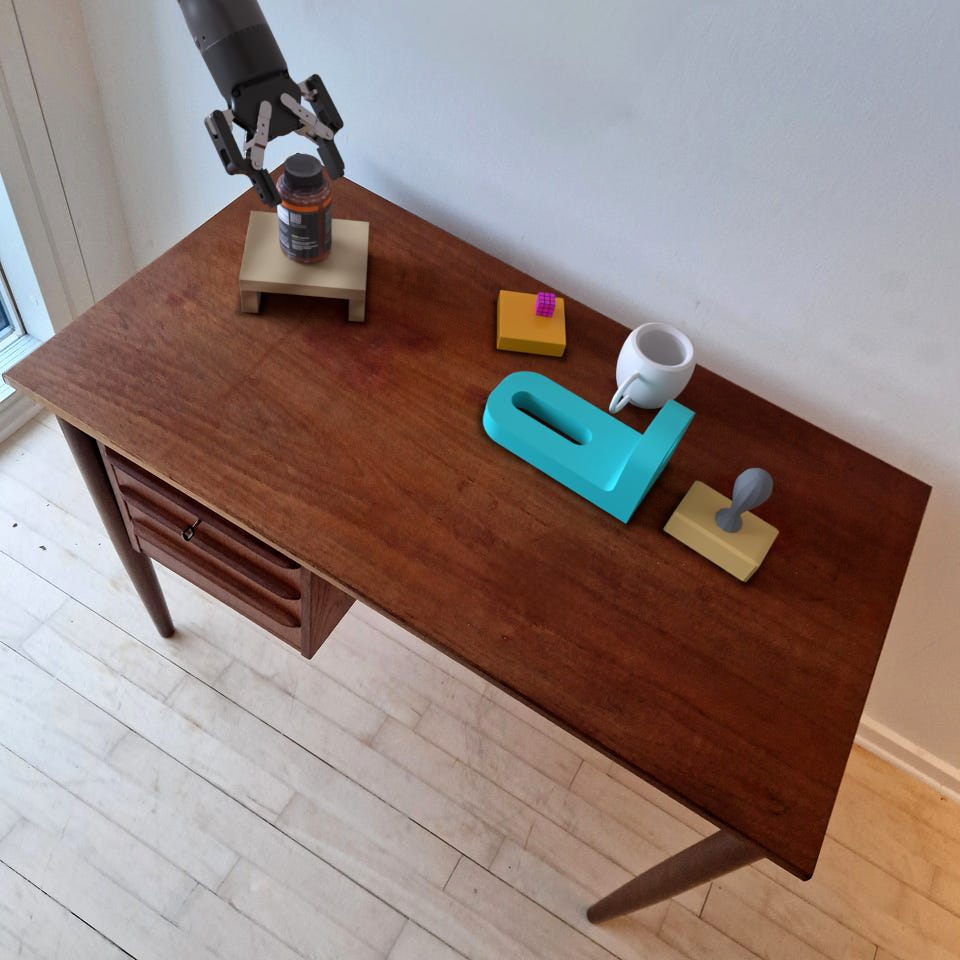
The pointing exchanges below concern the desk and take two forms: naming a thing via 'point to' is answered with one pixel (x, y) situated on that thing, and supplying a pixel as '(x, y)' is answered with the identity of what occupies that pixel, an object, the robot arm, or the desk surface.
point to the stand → (305, 265)
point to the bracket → (583, 441)
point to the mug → (653, 366)
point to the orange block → (531, 323)
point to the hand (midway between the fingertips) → (308, 191)
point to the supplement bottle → (304, 210)
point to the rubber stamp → (727, 523)
